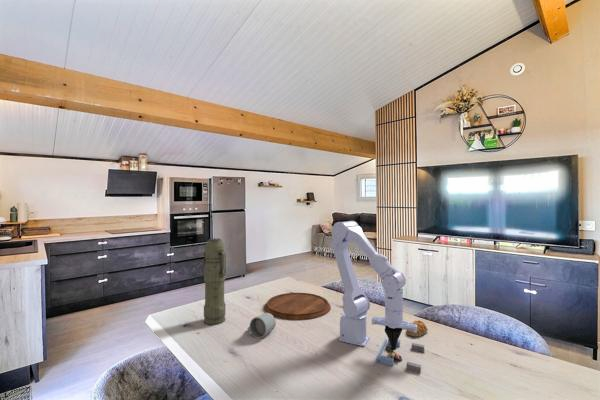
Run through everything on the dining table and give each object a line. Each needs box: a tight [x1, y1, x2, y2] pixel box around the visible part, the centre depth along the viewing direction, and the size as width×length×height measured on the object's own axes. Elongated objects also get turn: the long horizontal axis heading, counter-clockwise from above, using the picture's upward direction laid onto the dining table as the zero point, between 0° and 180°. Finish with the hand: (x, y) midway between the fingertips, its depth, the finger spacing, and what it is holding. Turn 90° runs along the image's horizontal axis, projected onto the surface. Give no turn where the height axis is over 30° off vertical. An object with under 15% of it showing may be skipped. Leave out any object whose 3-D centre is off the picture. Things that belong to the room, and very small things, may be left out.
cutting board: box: [264, 292, 332, 321], centre depth 143 cm, size 32×32×2 cm
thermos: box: [203, 238, 227, 326], centre depth 126 cm, size 9×12×35 cm
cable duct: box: [375, 338, 425, 374], centre depth 98 cm, size 13×15×2 cm
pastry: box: [406, 320, 429, 338], centre depth 115 cm, size 9×7×4 cm
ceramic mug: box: [247, 312, 277, 339], centre depth 115 cm, size 11×8×8 cm
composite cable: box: [384, 345, 403, 362], centre depth 98 cm, size 10×5×2 cm, turn 170°
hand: (393, 348), depth 99 cm, fingers closed
